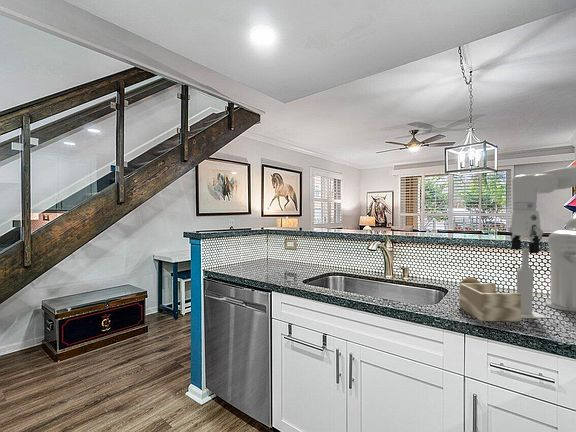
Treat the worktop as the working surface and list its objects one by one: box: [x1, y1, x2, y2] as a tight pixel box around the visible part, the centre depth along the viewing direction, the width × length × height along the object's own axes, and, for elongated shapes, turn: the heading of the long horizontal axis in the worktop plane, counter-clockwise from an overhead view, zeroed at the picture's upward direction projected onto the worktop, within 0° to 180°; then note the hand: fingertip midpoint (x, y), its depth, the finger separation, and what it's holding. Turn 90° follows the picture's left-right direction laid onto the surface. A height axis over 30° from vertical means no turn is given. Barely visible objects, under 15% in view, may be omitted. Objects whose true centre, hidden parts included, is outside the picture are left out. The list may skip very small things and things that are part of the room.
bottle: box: [516, 247, 535, 315], centre depth 122 cm, size 5×5×25 cm
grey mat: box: [521, 310, 548, 319], centre depth 122 cm, size 10×10×1 cm
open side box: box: [459, 282, 522, 322], centre depth 123 cm, size 14×16×10 cm
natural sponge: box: [460, 277, 481, 283], centre depth 142 cm, size 9×9×10 cm
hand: (524, 251), depth 122 cm, fingers open, 9 cm apart
